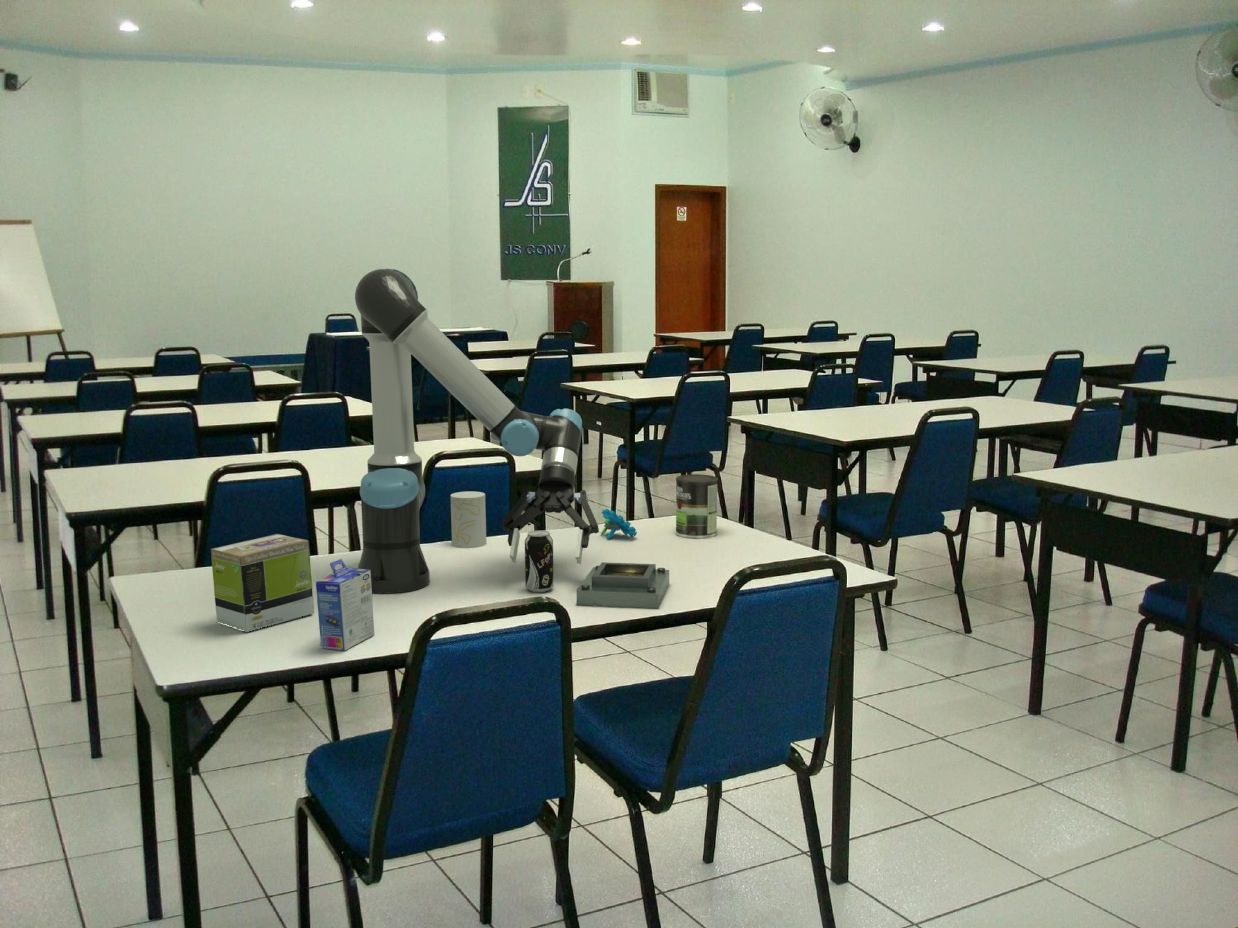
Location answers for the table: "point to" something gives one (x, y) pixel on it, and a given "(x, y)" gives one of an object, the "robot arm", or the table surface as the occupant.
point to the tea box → (262, 581)
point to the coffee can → (696, 506)
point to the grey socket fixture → (624, 586)
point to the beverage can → (539, 561)
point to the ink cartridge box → (345, 607)
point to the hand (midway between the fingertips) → (545, 559)
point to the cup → (468, 519)
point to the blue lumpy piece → (616, 524)
